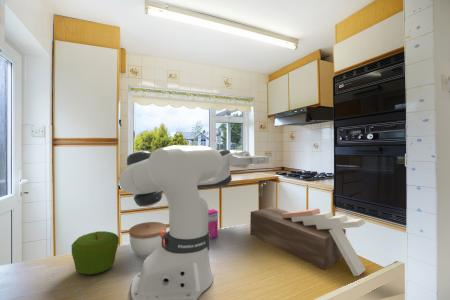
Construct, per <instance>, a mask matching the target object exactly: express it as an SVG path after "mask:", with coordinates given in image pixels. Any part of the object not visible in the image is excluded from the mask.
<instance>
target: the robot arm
mask: <svg viewBox="0 0 450 300" xmlns="http://www.w3.org/2000/svg"><path fill="white" fill-rule="evenodd" d="M269 163H270V157H269V156H268V155H251V154H250V152H249V151H247V150H238V149H237V150H235V149H230V150H229V149H225V148H224V149H216V148H213V147H211V146H206V145H187V144H186V145H182V144H181V145H180V144H179V145H178V144H177V145H168V146H164V147H159V148H158V149H155V150H153V151H152V152H151V151H149V150H137V151H134V152H132V153H131V154H129V155H128V156H127V158H126V166H127V168H125V169H123V171H122V172H121V173H120V175H119V185H120V188H121V189H122V190H123V191H124V192H126V193H128V194H130V195H132V194H133V201H134V202H135V204H136V205H137V206H138V207H139V208H141V207H143V208H148V207H149V208H150V207H152V206H154V205H156V204H158V203H160V201H161V200H162V198H163V194H164V197H165V198H166V199H165V200H166V201H167V206H168V222H169V224H168V227H169V229H168V231H167V229H166V230H162V231H161V232H160V237H161V238H162V246H160V247H159V248H158V249H157V250H155V251H154V252H153V253H152V254H150V255H149V256H148V257H147V258H144V259H145V260H144V261H143V263H142V266H141V269H140V271H139V272H138V273H137V274H136V275H135V276H134V277H133V280H132V282H131V288H130V298H131V300H199V297H200V296H201V294H202V293H203V292H204V291H207V290H208V288H209V287H210V286H211V285H212V284H213V282H214V276H213V271H212V269H211V261H210V254H209V251H210V247H211V240H210V234H209V230H208V208H209V204H208V202H207V201H206V200H205V199H204V198H202V197H201V196H200V192H199V189H203V188H216V187H217V188H219V187H227V186H229V185H230V183H231V181H232V179H233V178H232V174H231V169H230V168H231V167H233V168H239V169H247V168H249V166H250V165H266V164H269Z"/></svg>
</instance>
